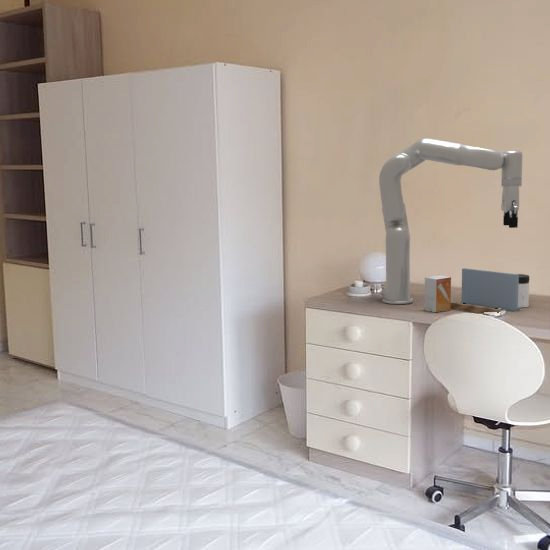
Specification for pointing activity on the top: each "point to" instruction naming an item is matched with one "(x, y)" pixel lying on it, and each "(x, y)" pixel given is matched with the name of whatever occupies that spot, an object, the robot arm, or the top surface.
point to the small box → (437, 293)
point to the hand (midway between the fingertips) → (510, 226)
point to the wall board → (490, 289)
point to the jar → (523, 291)
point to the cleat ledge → (472, 308)
